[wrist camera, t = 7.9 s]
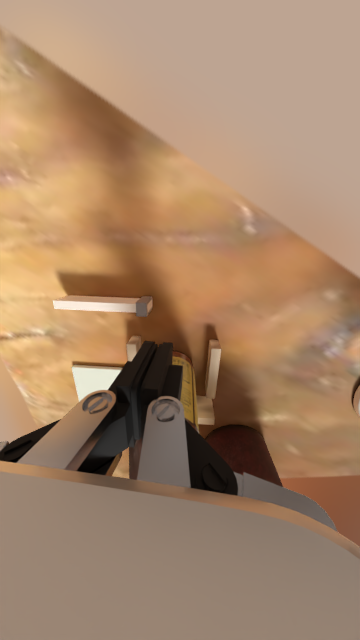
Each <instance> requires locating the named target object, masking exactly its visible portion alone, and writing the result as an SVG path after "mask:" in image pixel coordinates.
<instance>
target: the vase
mask: <svg viewBox="0 0 360 640" xmlns="http://www.w3.org/2000/svg"><path fill="white" fill-rule="evenodd" d="M205 440H206V441H207V443H208V444H209V445H210V446H211V447H212V448H213V449H214V450H215V451H216V452H217V453H218V454H219V455H220V456H221V457H222V458H223V459H224V460H225V461H226V462H227V464H228V465H229V466H230V467H231V469H232V470H233V472H236V473H238V474H241V475H243V473H244V472H245V473H247V474H250V475H253V476H255V477H258V478H260V479H263V480H265V481H268V482H271V483H273V484H276V485H278V486H281V487H283V486H282V483H281V481H280V478H279V476H278V473H277V471H276V468H275V466H274V463H273V461H272V458H271V456H270V453H269V451H268V448H267V446H266V443H265V441H264V439H263V437H262V436H261V435H260V434H259V433H258V432H257V431H256V430H254V429H252V428H250V427H247V426H242V425H228V426H223V427H220V428H218V429H216V430H214V431H213V432H211V433H210V434H209V435H208V436H207V438H206V439H205Z"/></svg>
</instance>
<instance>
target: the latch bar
mask: <svg viewBox="0 0 360 640" xmlns="http://www.w3.org/2000/svg"><path fill="white" fill-rule="evenodd" d="M53 304H54V309H69V310H91V311H113V312H134V313H136V316H142V317H147V316H148V314H149V313H150V312H151V310H152V309H153V305H152V296H142V297H141V298H121V297H98V296H75V295H68V296H65V297H62V298H59V299H56V300H53Z"/></svg>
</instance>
